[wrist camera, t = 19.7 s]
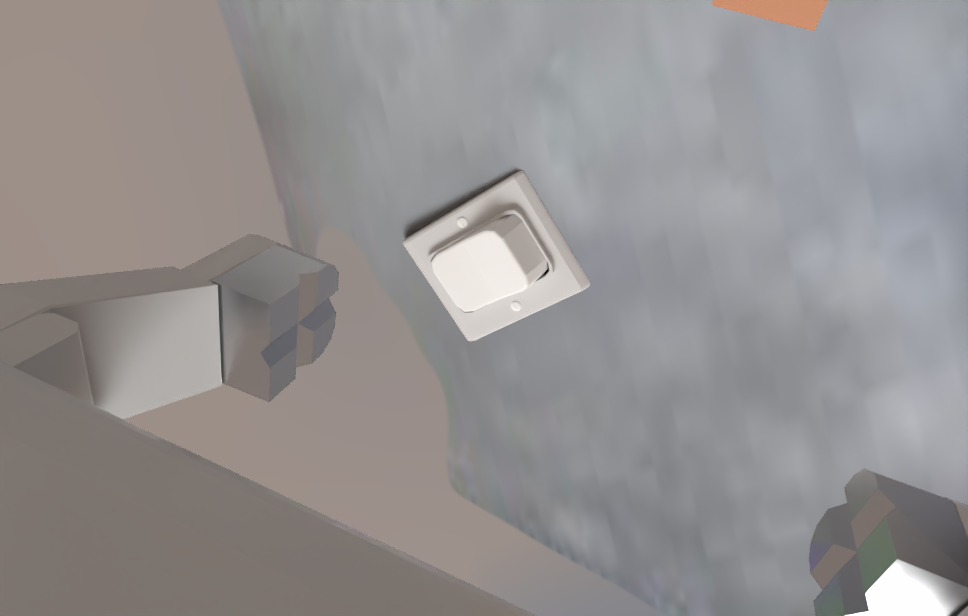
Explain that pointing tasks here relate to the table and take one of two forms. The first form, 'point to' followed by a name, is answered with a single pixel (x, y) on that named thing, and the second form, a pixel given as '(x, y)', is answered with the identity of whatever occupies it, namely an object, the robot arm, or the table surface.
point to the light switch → (496, 258)
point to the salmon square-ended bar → (779, 10)
